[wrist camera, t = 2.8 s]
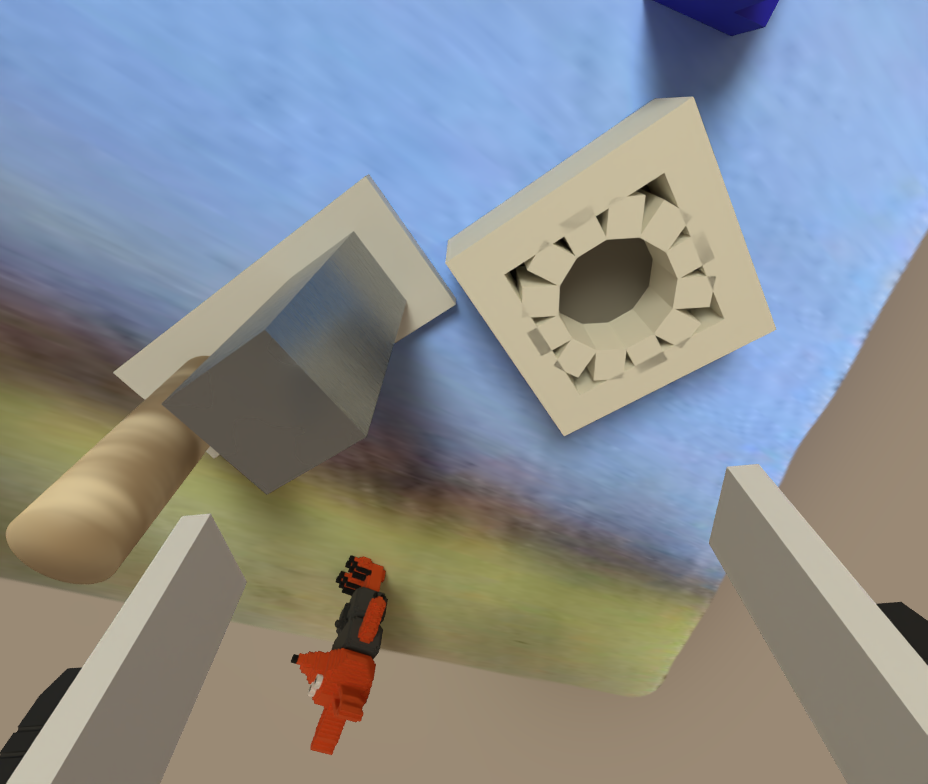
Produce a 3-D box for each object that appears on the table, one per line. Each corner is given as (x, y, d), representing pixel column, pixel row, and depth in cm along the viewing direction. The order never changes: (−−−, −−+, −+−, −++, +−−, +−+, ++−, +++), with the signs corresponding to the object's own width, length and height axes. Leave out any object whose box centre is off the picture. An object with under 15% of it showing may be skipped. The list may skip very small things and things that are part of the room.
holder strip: (122, 365, 30) (112, 372, 29) (368, 173, 25) (365, 176, 24) (220, 449, 34) (214, 458, 33) (456, 298, 28) (455, 304, 27)
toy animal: (340, 529, 38) (294, 688, 27) (403, 552, 39) (381, 712, 29) (306, 587, 41) (254, 747, 31) (365, 606, 43) (334, 766, 32)
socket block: (447, 240, 26) (445, 263, 22) (654, 98, 23) (693, 96, 19) (551, 395, 31) (564, 436, 27) (733, 298, 28) (776, 329, 24)
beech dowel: (166, 376, 29) (-16, 540, 18) (210, 343, 28) (45, 497, 17) (216, 421, 31) (78, 596, 20) (260, 392, 30) (139, 560, 19)
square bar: (289, 278, 26) (161, 403, 15) (353, 230, 25) (264, 329, 14) (344, 342, 28) (266, 494, 17) (406, 301, 27) (366, 437, 16)
